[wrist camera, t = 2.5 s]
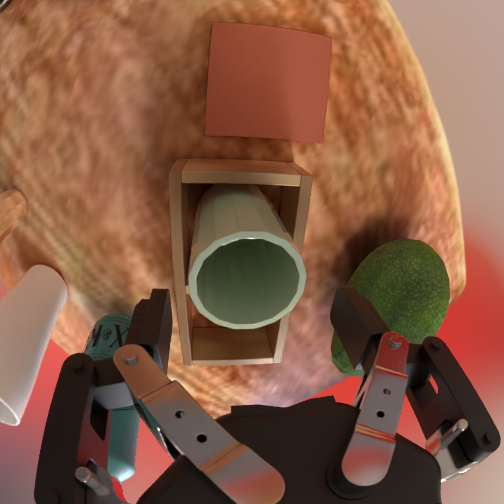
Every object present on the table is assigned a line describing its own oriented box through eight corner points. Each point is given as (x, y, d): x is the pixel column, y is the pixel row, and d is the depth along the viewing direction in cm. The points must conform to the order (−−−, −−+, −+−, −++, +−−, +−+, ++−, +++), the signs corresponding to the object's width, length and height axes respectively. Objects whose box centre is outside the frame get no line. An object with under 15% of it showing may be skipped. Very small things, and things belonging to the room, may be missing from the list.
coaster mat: (204, 135, 20) (204, 135, 20) (212, 23, 16) (212, 21, 15) (320, 142, 21) (322, 143, 21) (330, 38, 17) (332, 37, 17)
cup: (197, 247, 24) (191, 330, 16) (196, 178, 22) (186, 231, 13) (267, 247, 25) (296, 326, 17) (273, 180, 22) (314, 232, 14)
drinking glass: (21, 247, 22) (-63, 352, 9) (76, 265, 24) (4, 393, 10) (26, 299, 24) (-32, 403, 11) (76, 317, 26) (30, 437, 13)
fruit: (357, 343, 33) (390, 406, 25) (291, 329, 30) (317, 405, 22) (430, 242, 28) (488, 294, 19) (369, 205, 25) (437, 260, 16)
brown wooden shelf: (185, 332, 29) (183, 365, 25) (176, 158, 21) (168, 171, 17) (272, 331, 30) (280, 362, 26) (295, 162, 22) (313, 175, 18)
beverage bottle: (166, 340, 29) (155, 528, 12) (116, 352, 29) (87, 518, 12) (136, 294, 26) (91, 509, 8) (85, 310, 26) (25, 490, 8)
